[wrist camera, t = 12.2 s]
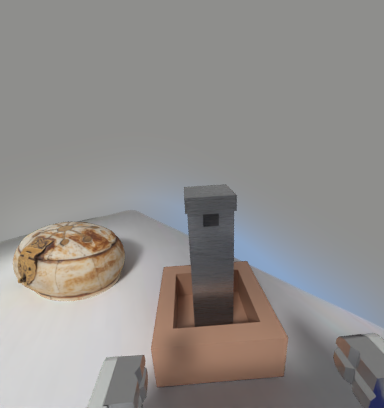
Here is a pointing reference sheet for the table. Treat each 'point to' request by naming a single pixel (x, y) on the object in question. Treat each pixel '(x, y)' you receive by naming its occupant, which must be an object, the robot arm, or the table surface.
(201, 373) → the holder
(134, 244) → the table surface
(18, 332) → the table surface
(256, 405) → the table surface
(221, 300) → the grey chimney stack
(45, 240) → the trinket box
